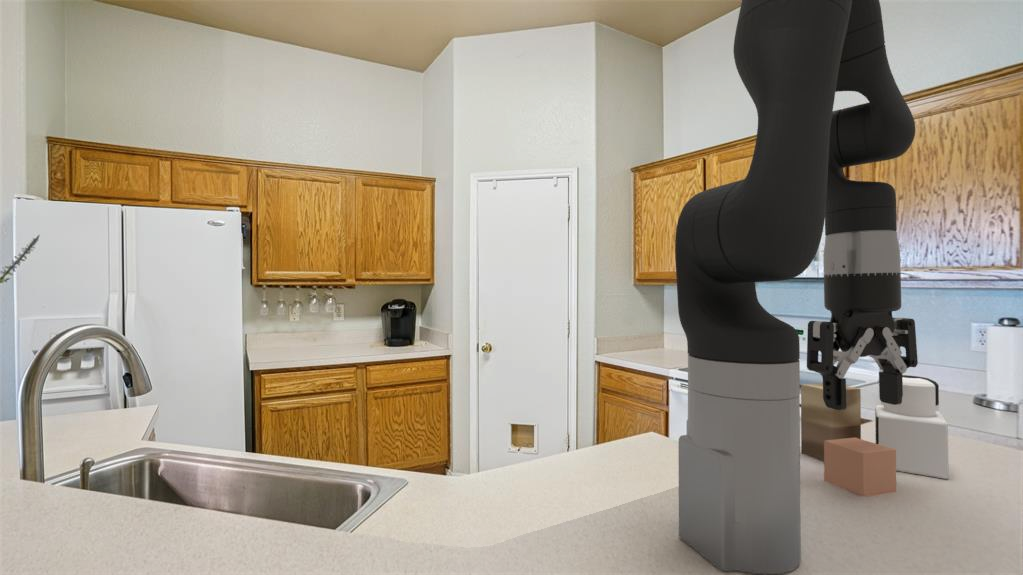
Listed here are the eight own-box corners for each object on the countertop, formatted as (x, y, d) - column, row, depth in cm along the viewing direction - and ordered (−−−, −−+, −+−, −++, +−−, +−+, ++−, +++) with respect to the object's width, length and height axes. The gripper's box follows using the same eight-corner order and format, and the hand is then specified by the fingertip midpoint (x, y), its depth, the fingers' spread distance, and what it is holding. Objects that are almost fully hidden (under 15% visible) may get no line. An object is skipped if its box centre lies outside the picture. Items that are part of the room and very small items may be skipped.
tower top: (832, 427, 65) (832, 390, 66) (801, 418, 70) (800, 384, 70) (860, 425, 67) (860, 388, 67) (828, 416, 72) (827, 382, 72)
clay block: (863, 497, 55) (863, 453, 55) (824, 481, 60) (824, 440, 60) (896, 492, 56) (895, 449, 57) (855, 477, 61) (855, 437, 61)
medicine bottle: (875, 453, 70) (874, 370, 70) (941, 464, 66) (940, 375, 66) (877, 468, 64) (876, 377, 64) (949, 480, 60) (948, 383, 60)
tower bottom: (832, 464, 65) (832, 427, 65) (801, 453, 70) (801, 418, 70) (861, 461, 67) (860, 425, 67) (828, 450, 72) (828, 416, 72)
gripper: (842, 270, 53) (846, 419, 53) (938, 269, 57) (942, 408, 56) (787, 273, 60) (790, 403, 60) (875, 272, 64) (878, 395, 64)
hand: (863, 405), depth 58 cm, fingers open, 8 cm apart
